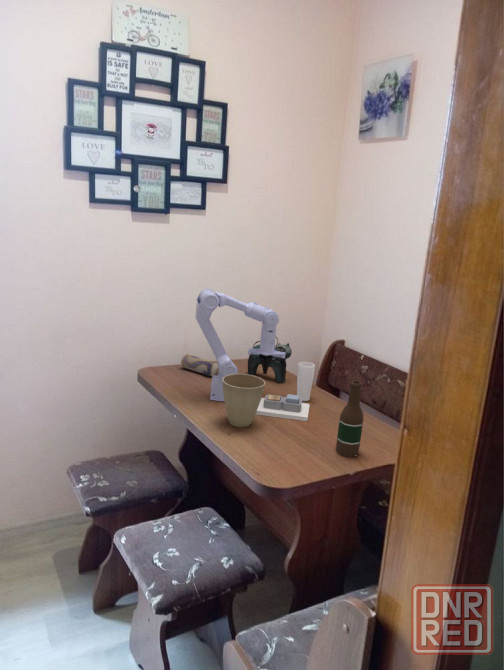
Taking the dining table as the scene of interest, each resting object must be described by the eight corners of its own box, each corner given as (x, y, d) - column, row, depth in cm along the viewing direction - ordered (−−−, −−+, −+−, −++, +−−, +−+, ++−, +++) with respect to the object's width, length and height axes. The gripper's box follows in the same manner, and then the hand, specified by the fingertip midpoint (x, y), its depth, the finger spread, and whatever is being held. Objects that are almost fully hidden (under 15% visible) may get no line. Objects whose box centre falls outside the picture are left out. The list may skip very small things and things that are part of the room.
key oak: (267, 405, 202) (267, 398, 202) (268, 401, 207) (269, 394, 206) (278, 406, 202) (279, 400, 201) (279, 402, 206) (280, 396, 205)
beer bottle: (332, 446, 178) (341, 377, 172) (355, 447, 178) (365, 378, 173) (338, 457, 170) (347, 385, 164) (362, 458, 171) (372, 386, 165)
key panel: (253, 414, 199) (254, 402, 198) (258, 400, 212) (259, 390, 211) (307, 421, 196) (308, 409, 195) (309, 407, 210) (310, 396, 209)
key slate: (285, 404, 201) (286, 398, 201) (286, 400, 205) (287, 394, 205) (297, 405, 201) (298, 399, 200) (298, 401, 205) (299, 395, 204)
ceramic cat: (289, 382, 237) (293, 338, 232) (282, 386, 232) (286, 341, 227) (251, 372, 247) (255, 329, 242) (243, 375, 242) (247, 332, 237)
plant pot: (230, 434, 180) (233, 389, 176) (212, 417, 193) (215, 375, 189) (269, 429, 187) (273, 385, 183) (249, 412, 200) (253, 372, 196)
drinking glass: (310, 403, 214) (314, 367, 210) (293, 401, 215) (297, 365, 212) (311, 397, 220) (315, 363, 217) (295, 395, 222) (299, 360, 218)
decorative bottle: (179, 369, 243) (180, 355, 241) (190, 366, 249) (191, 352, 247) (225, 383, 229) (226, 368, 228) (235, 379, 235) (236, 365, 234)
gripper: (247, 340, 207) (245, 374, 211) (285, 344, 205) (282, 378, 209) (250, 336, 214) (248, 368, 217) (286, 340, 212) (283, 373, 216)
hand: (265, 373), depth 214 cm, fingers closed
